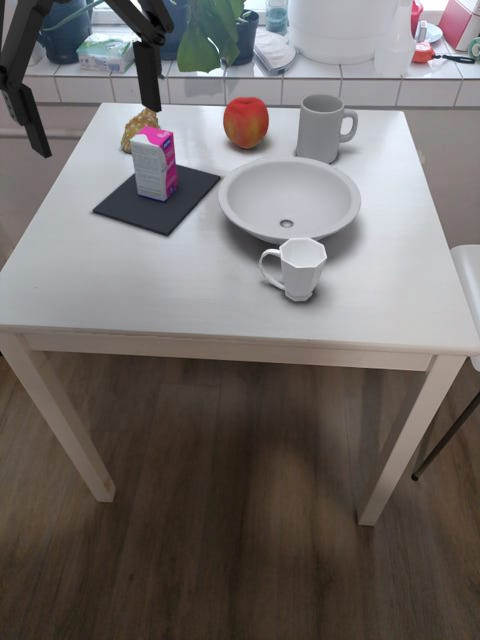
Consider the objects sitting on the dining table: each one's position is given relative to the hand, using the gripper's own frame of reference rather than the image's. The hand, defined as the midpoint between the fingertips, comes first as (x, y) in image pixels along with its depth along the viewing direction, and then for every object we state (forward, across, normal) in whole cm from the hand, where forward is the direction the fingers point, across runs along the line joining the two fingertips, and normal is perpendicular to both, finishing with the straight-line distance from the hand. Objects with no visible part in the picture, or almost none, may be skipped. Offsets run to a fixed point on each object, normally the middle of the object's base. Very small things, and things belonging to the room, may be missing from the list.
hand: (100, 129), depth 52 cm
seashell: (+29, +31, +41) cm, 59 cm away
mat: (+29, +21, +22) cm, 42 cm away
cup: (+29, +19, -12) cm, 37 cm away
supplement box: (+28, +21, +22) cm, 42 cm away
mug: (+29, +55, +10) cm, 63 cm away
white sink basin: (+29, +31, -1) cm, 42 cm away
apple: (+29, +46, +24) cm, 59 cm away
